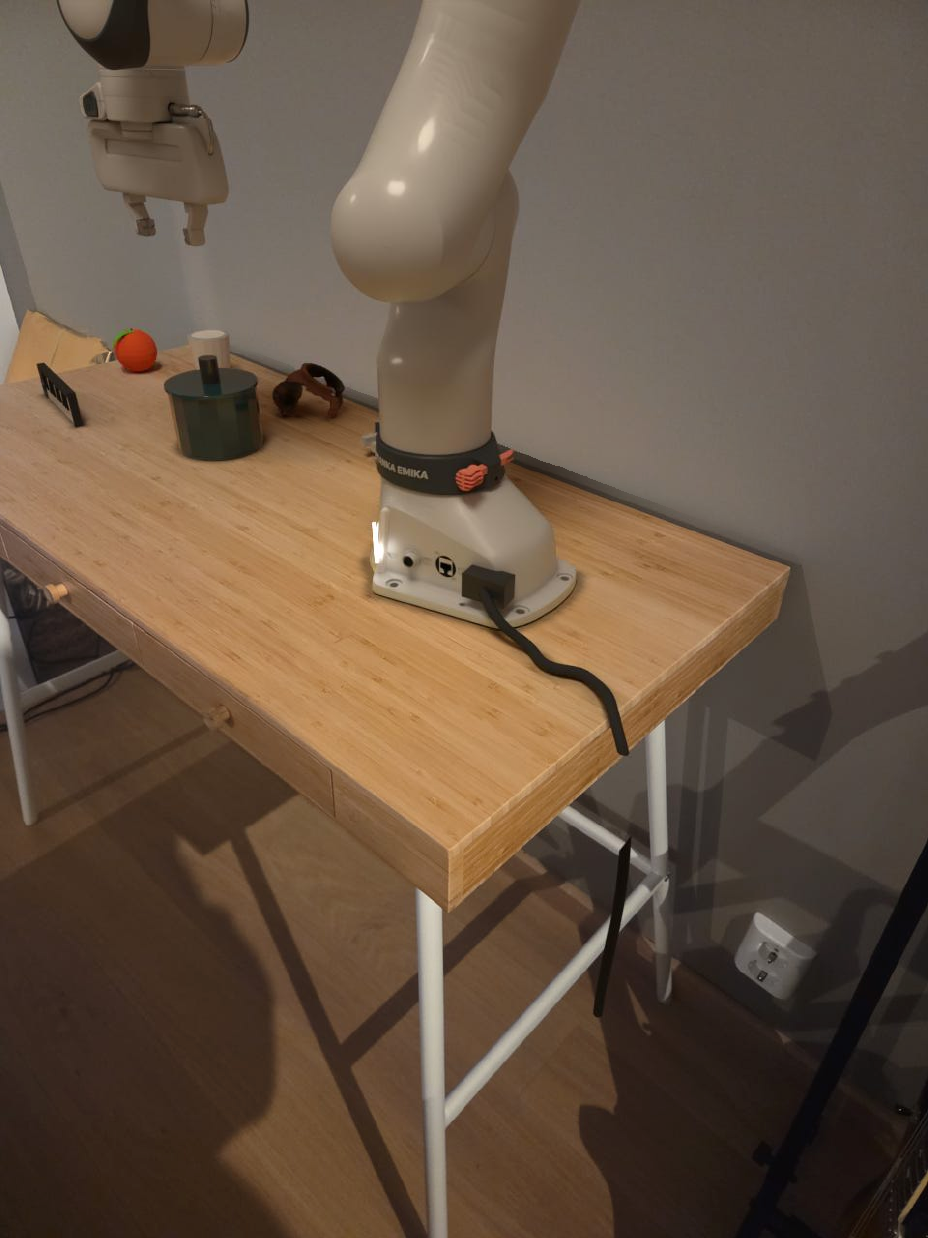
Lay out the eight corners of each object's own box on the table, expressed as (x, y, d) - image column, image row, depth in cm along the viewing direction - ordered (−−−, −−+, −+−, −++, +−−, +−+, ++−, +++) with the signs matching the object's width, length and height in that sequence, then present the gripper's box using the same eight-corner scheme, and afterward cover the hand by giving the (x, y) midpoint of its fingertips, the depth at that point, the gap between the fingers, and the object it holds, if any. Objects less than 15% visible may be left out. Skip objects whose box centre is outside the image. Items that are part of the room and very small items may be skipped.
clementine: (132, 380, 139) (123, 337, 135) (104, 373, 142) (95, 331, 138) (169, 368, 145) (161, 326, 141) (141, 362, 148) (133, 321, 144)
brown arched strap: (297, 401, 133) (320, 357, 129) (338, 437, 131) (362, 394, 127) (246, 403, 123) (269, 355, 119) (290, 443, 121) (314, 396, 117)
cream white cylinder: (229, 382, 139) (223, 339, 135) (188, 381, 139) (181, 339, 135) (239, 369, 145) (233, 328, 141) (199, 369, 145) (193, 328, 141)
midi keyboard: (44, 394, 133) (35, 363, 130) (52, 393, 133) (44, 362, 130) (74, 427, 121) (66, 393, 118) (83, 425, 122) (75, 392, 119)
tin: (280, 442, 117) (273, 383, 112) (214, 467, 109) (204, 405, 105) (228, 424, 123) (219, 366, 118) (162, 446, 115) (150, 386, 111)
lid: (277, 387, 113) (273, 355, 110) (203, 411, 105) (198, 377, 102) (220, 370, 119) (215, 339, 116) (146, 391, 111) (139, 358, 108)
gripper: (232, 104, 87) (249, 247, 94) (119, 98, 97) (143, 227, 105) (182, 105, 82) (204, 255, 90) (69, 98, 93) (98, 233, 100)
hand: (170, 240), depth 97 cm, fingers open, 8 cm apart
